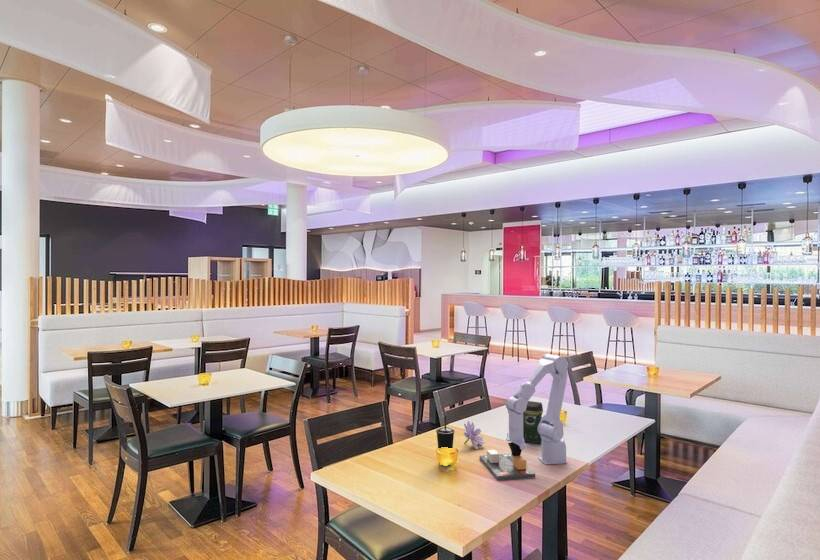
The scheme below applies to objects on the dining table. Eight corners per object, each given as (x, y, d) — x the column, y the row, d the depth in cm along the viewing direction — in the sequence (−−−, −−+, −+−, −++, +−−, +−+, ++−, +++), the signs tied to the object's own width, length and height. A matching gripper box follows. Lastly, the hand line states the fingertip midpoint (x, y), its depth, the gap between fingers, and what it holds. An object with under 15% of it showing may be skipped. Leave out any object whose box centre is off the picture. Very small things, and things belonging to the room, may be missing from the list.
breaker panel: (513, 456, 204) (513, 453, 204) (535, 477, 182) (535, 473, 182) (479, 459, 201) (479, 455, 201) (497, 480, 180) (497, 475, 180)
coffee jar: (545, 440, 225) (544, 401, 225) (540, 445, 218) (540, 404, 218) (524, 437, 230) (524, 398, 230) (519, 442, 223) (519, 402, 223)
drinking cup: (449, 469, 191) (449, 418, 191) (432, 465, 195) (432, 416, 195) (457, 463, 197) (457, 414, 197) (441, 459, 201) (441, 411, 201)
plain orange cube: (521, 464, 191) (521, 455, 191) (526, 469, 186) (526, 460, 186) (512, 464, 190) (512, 456, 190) (517, 469, 185) (517, 460, 185)
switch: (495, 458, 198) (495, 449, 198) (499, 462, 193) (499, 453, 193) (487, 458, 197) (486, 450, 197) (490, 463, 192) (490, 454, 192)
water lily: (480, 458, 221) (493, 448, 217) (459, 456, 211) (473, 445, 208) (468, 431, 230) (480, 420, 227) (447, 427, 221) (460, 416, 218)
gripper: (500, 422, 198) (500, 455, 198) (513, 433, 184) (513, 468, 184) (516, 421, 199) (516, 454, 199) (530, 432, 185) (530, 467, 185)
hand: (516, 461), depth 191 cm, fingers closed
